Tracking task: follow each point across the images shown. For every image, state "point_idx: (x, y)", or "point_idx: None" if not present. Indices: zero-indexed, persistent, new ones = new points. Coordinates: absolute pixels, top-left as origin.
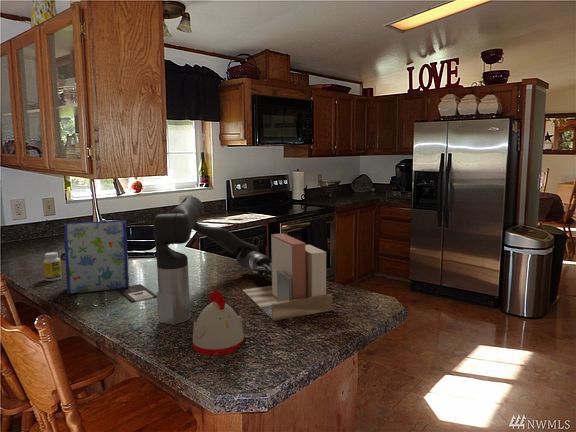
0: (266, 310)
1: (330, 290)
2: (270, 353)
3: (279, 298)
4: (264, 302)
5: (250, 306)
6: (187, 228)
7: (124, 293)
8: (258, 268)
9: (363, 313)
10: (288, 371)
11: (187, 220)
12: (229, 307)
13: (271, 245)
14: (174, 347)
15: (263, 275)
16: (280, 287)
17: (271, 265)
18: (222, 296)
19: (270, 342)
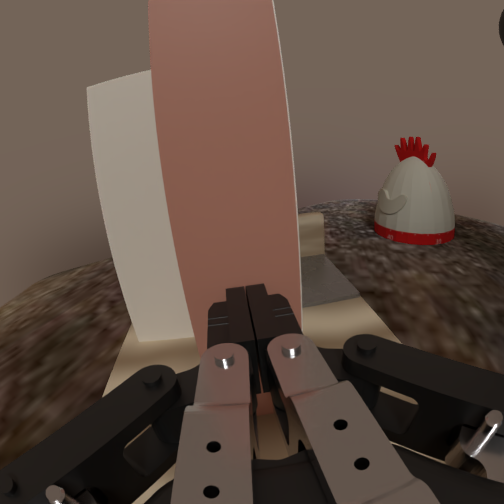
0: (340, 276)
1: (3, 399)
2: (330, 219)
3: None
4: (351, 331)
5: (409, 336)
6: (499, 31)
7: None
8: (485, 400)
9: (102, 276)
10: (311, 209)
11: (502, 13)
12: (396, 166)
13: (275, 15)
14: (469, 228)
15: (385, 394)
16: None
17: (236, 470)
18: (401, 141)
19: (330, 230)
